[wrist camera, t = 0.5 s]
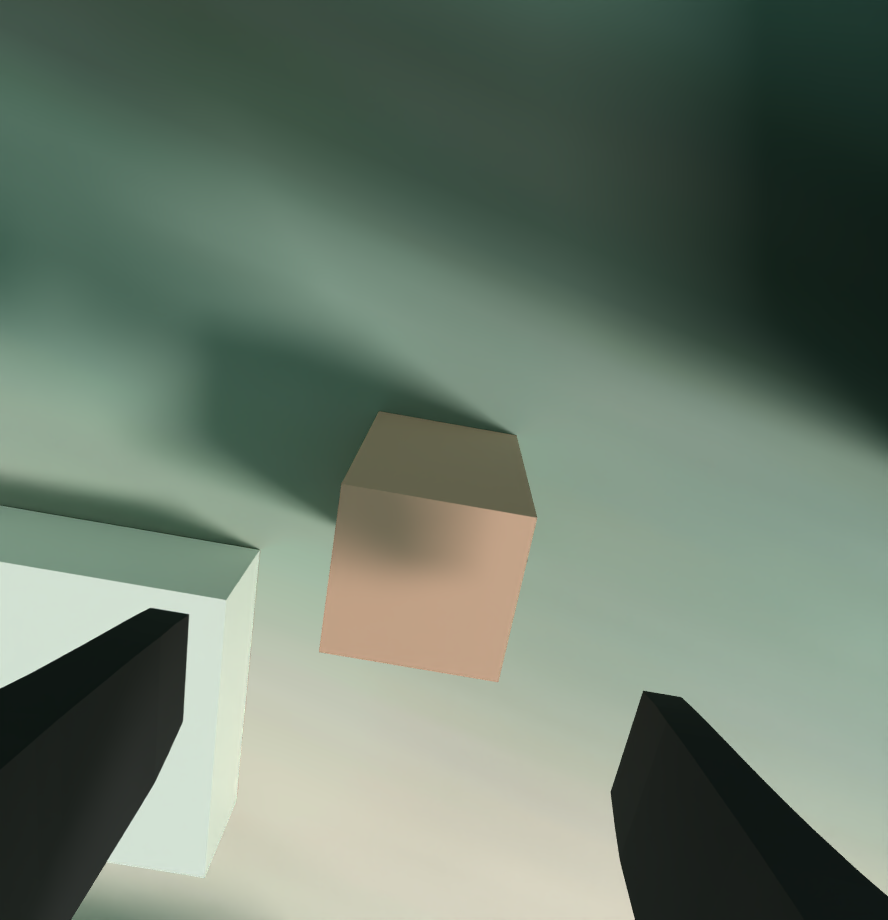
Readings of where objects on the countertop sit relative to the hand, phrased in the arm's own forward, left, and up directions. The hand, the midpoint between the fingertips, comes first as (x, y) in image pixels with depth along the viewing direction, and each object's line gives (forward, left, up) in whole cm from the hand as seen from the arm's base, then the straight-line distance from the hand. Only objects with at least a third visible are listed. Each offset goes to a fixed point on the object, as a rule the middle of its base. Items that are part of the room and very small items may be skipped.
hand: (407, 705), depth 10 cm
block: (0, 0, -10) cm, 10 cm away
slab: (-8, +10, -10) cm, 16 cm away
